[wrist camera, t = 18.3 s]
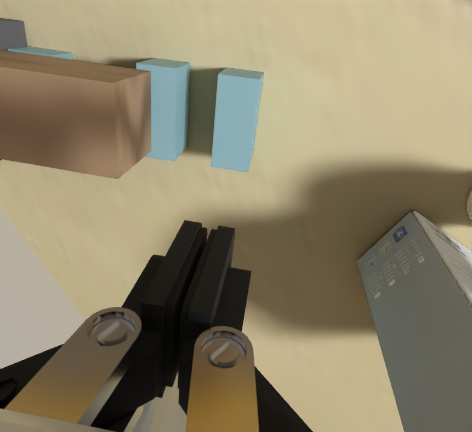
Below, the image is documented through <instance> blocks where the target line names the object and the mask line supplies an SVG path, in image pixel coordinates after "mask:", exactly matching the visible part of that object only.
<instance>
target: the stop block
mask: <svg viewBox="0 0 472 432" xmlns="http://www.w3.org/2000/svg"><path fill="white" fill-rule="evenodd" d="M20 47H27V41H26V35H25V28H24V22H23V21H19V20H12V19H4V18H0V50H6V51H8V49H9V48H20ZM0 160H2V159H0Z"/></svg>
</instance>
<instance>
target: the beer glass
mask: <svg viewBox="0 0 472 432" xmlns="http://www.w3.org/2000/svg"><path fill="white" fill-rule="evenodd" d="M467 212H468V215H469V217H470V219H471V220H472V190H471V191H470V193H469V196H468V199H467Z"/></svg>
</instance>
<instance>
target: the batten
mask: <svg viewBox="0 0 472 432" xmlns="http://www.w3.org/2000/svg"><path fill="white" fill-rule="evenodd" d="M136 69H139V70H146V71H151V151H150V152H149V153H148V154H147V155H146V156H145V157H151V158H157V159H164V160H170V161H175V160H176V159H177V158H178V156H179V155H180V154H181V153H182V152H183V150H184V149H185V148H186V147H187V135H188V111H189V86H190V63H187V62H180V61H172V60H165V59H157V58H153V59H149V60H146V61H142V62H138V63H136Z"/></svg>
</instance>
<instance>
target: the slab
mask: <svg viewBox="0 0 472 432" xmlns="http://www.w3.org/2000/svg"><path fill="white" fill-rule="evenodd" d="M150 151H151V71H146V70H139V69H132V68H125V67H118V66H111V65H104V64H97V63H90V62H83V61H76V60H69V59H62V58H55V57H48V56H41V55H34V54H27V53H20V52H13V51H6V50H0V159H5V160H10V161H16V162H22V163H28V164H34V165H40V166H45V167H51V168H57V169H63V170H69V171H75V172H80V173H86V174H92V175H98V176H104V177H109V178H115V179H118V178H120V177H121V176H122V175H123V174H124V173H126V172H127V171H128V170H129V169H130V168H132V167H133V166H134V165H135V164H136V163H137V162H139V161H140V160H141V159H142V158H143V157H145V156H146V155H147V154H148V153H149V152H150Z"/></svg>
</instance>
